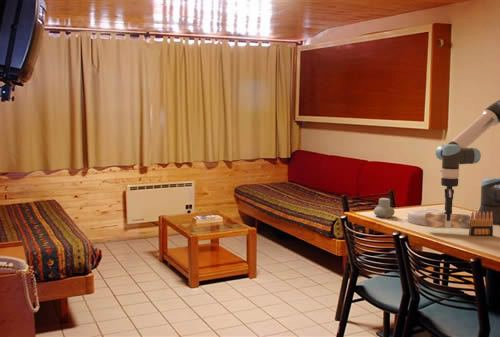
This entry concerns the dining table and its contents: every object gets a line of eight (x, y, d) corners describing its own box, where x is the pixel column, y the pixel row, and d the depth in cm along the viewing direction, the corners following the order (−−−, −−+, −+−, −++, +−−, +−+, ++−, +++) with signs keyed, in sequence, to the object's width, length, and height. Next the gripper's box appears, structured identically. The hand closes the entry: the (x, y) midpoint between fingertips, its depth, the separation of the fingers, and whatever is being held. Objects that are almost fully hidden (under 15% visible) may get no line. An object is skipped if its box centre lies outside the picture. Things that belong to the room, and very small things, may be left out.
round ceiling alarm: (424, 230, 269) (425, 218, 268) (393, 220, 292) (393, 208, 291) (463, 226, 279) (464, 214, 278) (430, 216, 302) (430, 205, 301)
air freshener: (386, 214, 304) (387, 196, 303) (396, 217, 297) (397, 199, 296) (371, 216, 299) (371, 198, 298) (381, 219, 292) (382, 201, 291)
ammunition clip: (470, 237, 255) (471, 211, 254) (468, 236, 257) (470, 211, 255) (492, 236, 255) (494, 211, 254) (491, 235, 257) (492, 210, 256)
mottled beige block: (469, 227, 259) (469, 214, 258) (470, 229, 255) (470, 216, 254) (424, 224, 264) (425, 212, 264) (425, 226, 261) (425, 213, 260)
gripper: (440, 174, 266) (438, 221, 269) (442, 179, 249) (439, 229, 252) (457, 175, 264) (454, 222, 267) (459, 180, 247) (457, 230, 250)
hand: (447, 226), depth 260 cm, fingers closed on mottled beige block, 4 cm apart
